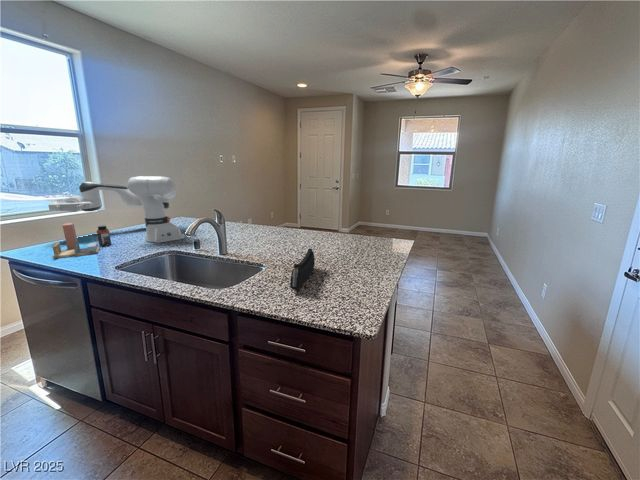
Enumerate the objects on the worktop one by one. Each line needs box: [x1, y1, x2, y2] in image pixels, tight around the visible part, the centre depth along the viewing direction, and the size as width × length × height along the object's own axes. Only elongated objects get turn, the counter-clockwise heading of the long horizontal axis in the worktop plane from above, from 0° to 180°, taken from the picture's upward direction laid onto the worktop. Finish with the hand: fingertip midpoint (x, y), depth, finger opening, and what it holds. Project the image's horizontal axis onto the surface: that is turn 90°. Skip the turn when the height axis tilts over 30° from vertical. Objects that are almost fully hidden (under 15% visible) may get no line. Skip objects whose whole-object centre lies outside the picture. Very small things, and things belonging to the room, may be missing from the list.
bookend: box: [73, 240, 88, 254], centre depth 165 cm, size 5×8×5 cm, turn 29°
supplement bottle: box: [96, 224, 112, 247], centre depth 181 cm, size 6×6×11 cm
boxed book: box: [62, 222, 78, 250], centre depth 173 cm, size 4×6×14 cm
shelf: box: [52, 242, 100, 259], centre depth 165 cm, size 19×10×6 cm, turn 119°
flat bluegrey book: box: [86, 241, 99, 252], centre depth 169 cm, size 4×8×3 cm, turn 29°
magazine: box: [289, 247, 315, 292], centre depth 135 cm, size 17×3×30 cm
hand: (68, 207), depth 179 cm, fingers open, 8 cm apart
